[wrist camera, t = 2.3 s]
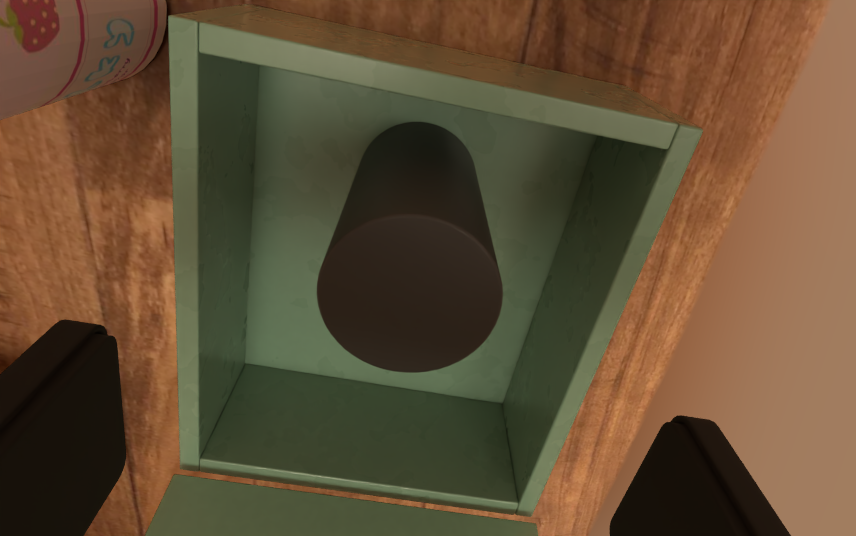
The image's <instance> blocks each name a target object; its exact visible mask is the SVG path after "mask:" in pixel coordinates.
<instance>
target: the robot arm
mask: <svg viewBox="0 0 856 536" xmlns="http://www.w3.org/2000/svg"><path fill="white" fill-rule="evenodd" d="M125 460H126V446H125V434H124V422H123V410H122V398H121V385H120V373H119V361H118V349H117V341H116V339H115V337H113V336H108V335H107V331H106V329H105V327H104V326H102V325H97V324H91V323H85V322H78V321H72V320H60V321H59V322H57V323H56V324H55V325H54V326H52V327H51V328H50V329H49V330H48V331H47V332H46V333H45V334H44V335H43V336H42V337H40V338H39V339H38V340H37V341H36V342H35V343H34V344H33V345H32V346H31V347H30V348H29V349H27V350H26V351H25V352H24V353H23V354H22V355H21V356H20V357H19V358H18V359H17V360H15V361H14V362H13V363H12V364H11V365H10V366H9V367H8V368H7V369H6V370H5V371H3V372H2V373H1V374H0V536H84V534H85V532H86V531H87V529H88V528H89V526H90V524H91V523H92V521H93V519H94V518H95V516H96V515H97V513H98V511H99V510H100V508H101V507H102V505H103V503H104V502H105V500H106V499H107V497H108V495H109V494H110V492H111V490H112V489H113V487H114V486H115V484H116V482H117V481H118V479H119V477H120V475H121V473H122V471H123V468H124V465H125ZM610 536H791V535H790V534H789V532H788V531H787V529H786V528H785V526H784V525H783V523H782V522H781V520H780V519H779V517H778V516H777V514H776V513H775V511H774V510H773V508H772V507H771V505H770V504H769V502H768V501H767V499H766V498H765V496H764V495H763V493H762V492H761V490H760V489H759V487H758V486H757V484H756V482H755V481H754V480H753V478H752V476H751V475H750V473H749V472H748V470H747V469H746V467H745V466H744V464H743V463H742V461H741V460H740V459H739V457H738V456H737V454H736V453H735V451H734V449H733V448H732V447H731V445H730V443H729V442H728V440H727V439H726V437H725V436H724V434H723V433H722V432H721V430H720V428H719V427H718V426H717V425H716V423H715V422H713V421H711V420H707V419H700V418H694V417H687V416H676V417H674V418H673V419H672V421H671V422H666V423H665V424H664V425H663V426H662V427H661V429H660V431H659V433H658V434H657V436H656V438H655V440H654V442H653V444H652V445H651V447H650V449H649V451H648V453H647V455H646V457H645V458H644V460H643V462H642V464H641V466H640V468H639V469H638V472H637V473H636V475H635V477H634V479H633V481H632V483H631V484H630V486H629V488H628V490H627V492H626V494H625V496H624V497H623V499H622V501H621V503H620V505H619V507H618V508H617V510H616V512H615V514H614V516H613V518H612V520H611V523H610Z"/></svg>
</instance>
